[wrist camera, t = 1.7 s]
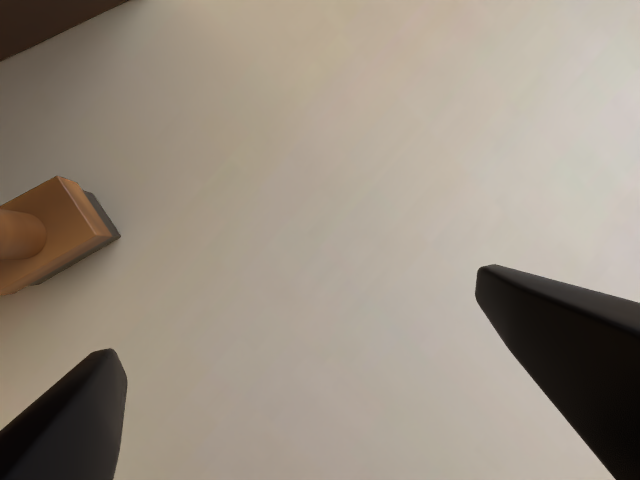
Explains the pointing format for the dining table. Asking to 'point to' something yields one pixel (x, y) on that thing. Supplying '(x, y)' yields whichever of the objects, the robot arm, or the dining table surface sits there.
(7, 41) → the wall shelf
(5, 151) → the dining table surface
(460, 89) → the dining table surface
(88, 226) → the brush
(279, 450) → the dining table surface
